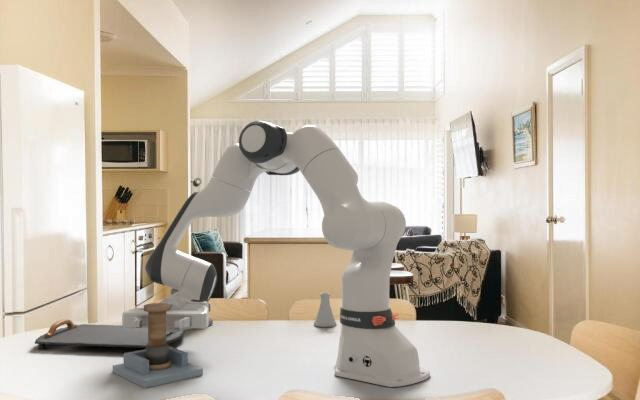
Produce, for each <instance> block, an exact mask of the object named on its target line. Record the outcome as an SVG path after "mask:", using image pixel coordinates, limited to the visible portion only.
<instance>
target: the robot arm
mask: <svg viewBox="0 0 640 400" xmlns="http://www.w3.org/2000/svg"><path fill="white" fill-rule="evenodd" d="M224 150H225V151H224V152H223V153H222V155H221V156H220V159H219V160H218V162H217V165H216V166H215V168H214V169H213V170H214V171H213V173H212V175H211V176H210V177H211V178H210V180H209V181H208V183H207V184H206V186H204V188H202V189H201V190H200V191H194V192H193V193H191V194H190V196H189V197H188V198H187V199H186V200H185V201H184V203H183V204H182V206H181V208H180V209H179V211H178V212H177V214H176V215H175V217H174V218H173V221H172V222H171V224H170V225H169V227H168V229H167V230H166V231H165V233H164V235H163V237H162V238H161V240H160V241H159V243H158V244H157V246H156V247H155V248H154V250H153V251H152V252H151V254H150V255H149V256H148V258H147V261H146V264H145V271H146V275H147V276H148V278H149V280H150V282H151V283H155V284H158V285H159V284H160V285H162V286H166V287H168V288H171V289H173V288H174V289H176V290H178V292H176V293H174V294H172V295H171V294H170V295H169V296H166V297H165V298H163V299H161V301H159V302H158V303H168V304H171V310H169V311H166V331H167V332H178V331H181V330H185V331H188V330H187V329H192V330H195V329H194V328H199V329H198V330H200V329H207V328H208V327H209V326H208V325H209V318H210V315H209V313H210V312H209V308H208V303H209V301H210V300H211V298H212V296H213V294H214V291H215V289H216V287H217V283H218V273H217V269H216V267H215V265H214V264H213V263H211V262H209V261H206V260H204V259H201V258H199V257H196V256H193V255H191V254H188V253H186V252H184V251H182V250H179V249H178V246H179V244H180V243H181V240H183V238H184V236H185V234H186V232H187V231H188V229H189V227H190V226H191V225H192V223H193V222H194V221H195V220H197V219H200V218H205V217H206V218H209V217H210V218H220V217H222V218H223V217H230V216H231V217H232V216H233V215H234V216H235V215H237V214H238V213H241V211H243V209H244V207H245V206H246V204H247V203H248V201H249V198H250V196H251V194H252V190H253V188H254V185H255V183H256V180H257V179H258V177H259V176H260V175H261V174H263V173H266V175H268V176H292V175H295V174H297V173H299V171H300V173H301V174H302V176H303V177H304V179H305V180H306V182H307V183H308V185H309V186H310V188H311V189H312V191H313V192H314V194H315V196H316V197H317V199H318V200H319V203H320V205H321V209H322V212H323V217H322V221H321V230H322V235H323V237H324V239H325V241H326V242H327V244H328V245H330V246H332V247H333V248H336V249H341V250H345V251H352V255H351V259H350V261H349V263H348V265H347V267H346V268H345V269H344V271H343V272H342V277H341V307H340V309H339V322H340V324H341V328H340V329H341V330H340V335H339V342H338V343H339V344H338V351H337V358H336V361H335V366H334V375H335V376H336V377H341V378H346V379H350V380H355V381H359V382H360V381H361V382H365V383H371V384H374V385H378V386H384V387H387V388H388V387H389V388H393V387H394V388H395V387H397V388H398V387H404V386H409V385H413V384H417V383H419V382H423V381H425V380H427V379H428V378H429V377H430V375H431V373H430V372H431V371H430V370H429V369H427V368H423V367H421V366H420V358H419V352H418V349H417V347H416V346H415V345H414V344H413V343H412V342H411V341H410V340H409V339H408V338H407V337H406V336H405V334H403V332H401V331H400V330H399V328H398V327H397V325H396V321H395V320H398V319H399V313H394V314H393V312H392V309H391V307H390V281H391V280H390V277H391V271H392V265H393V261H394V257H395V252H396V250H397V246H398V244H399V242H400V240H401V238H402V237H403V235H404V233H405V230H406V228H407V227H406V226H407V223H406V221H407V220H406V218H405V215H404V213H403V212H402V210H401V209H400V208H399V207H397V206H395V205H393V204H391V203H389V202H384V201H367V200H366V199H365V198H364V196H362V194H361V192H360V190H359V188H358V182H359V175H358V173H357V171H356V170H355V169H354V167H353V166H352V165H351V163H350V162H349V160H348V159H347V157H346V155H344V153H343V151H341V149H340V148H339V147H338V146H337V144H336V143H335V142H334V141H333V140H332V138H331V137H330V136H328V134H327V133H326V132H324V131H323V130H322V129H321V128H320V127H318V126H316V125H314V124H313V125H312V124H306V125H303V126H301V127H299V128H298V129H296V130H295V131H293V132H288V131H286V129H285V128H284V127H282V126H279V125H277V124H273V123H272V122H268V121H263V120H255V121H252V122H251V121H250V123H248V124H246V125H245V126H244V127H243V128H242V130H241V131H240V134H239V138H238V142H237V143H232V144H230V145H228V146H227V147H226V148H225V149H224ZM121 316H122V317H121V325H123V327H126V328H148V312H146V311H144V307H135V308H131V309H127V310H125V311H124V312H123V313H122V315H121Z"/></svg>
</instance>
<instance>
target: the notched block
mask: <svg viewBox="0 0 640 400" xmlns="http://www.w3.org/2000/svg"><path fill="white" fill-rule="evenodd" d="M188 354H189V353H188V352H186V351H183V350H181V349H178V348H176V347H173V346H170V345H169V360H170V361H171V367H170V368H168V369H164V370H156V371H151V370H149V360H147V359H146V348H144V349H141V350H140V349H139V350H134V351H128V352H124V353H123V363H119V364H113V365H112V373H114V374H115V375H118V376H120V377H122V378H124V379H126V380H127V381H130V382H131V383H134V384H135V385H138V386H140V387H142V388H144V389H147V388H152V387H156V386H160V385H165V384H168V383H170V384H171V383H174V382H177V381H178V382H179V381H182V380H187V379H191V378H192V379H193V378H195V377H199V376H200V377H201V376H203V375H204V373H203V371H204V369H203V368H202V367H199V366H198V365H195V364H193V363H190V362H188V361H189V355H188Z"/></svg>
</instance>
